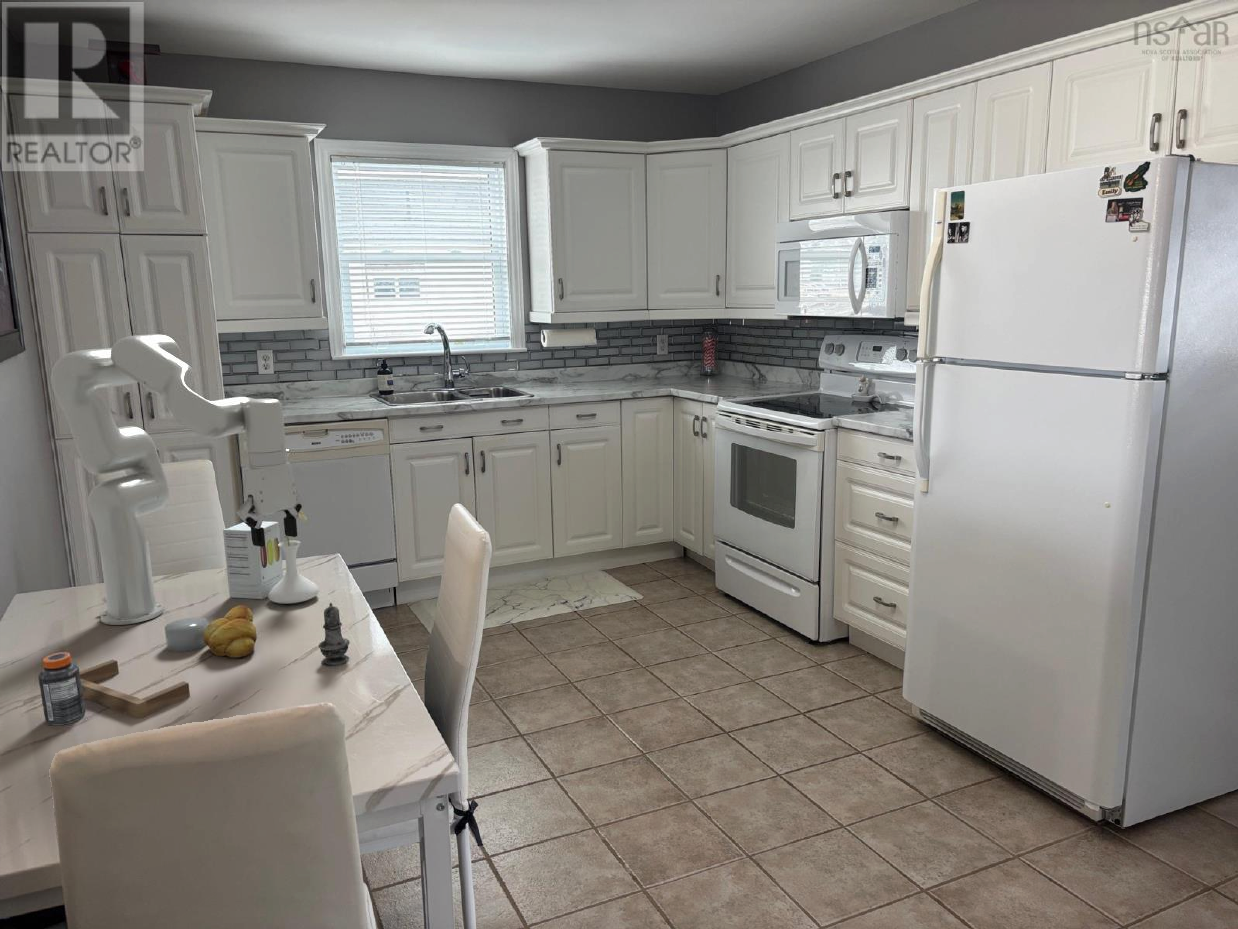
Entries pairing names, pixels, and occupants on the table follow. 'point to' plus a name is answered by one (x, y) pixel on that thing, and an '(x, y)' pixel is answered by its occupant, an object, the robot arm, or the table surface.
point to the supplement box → (252, 561)
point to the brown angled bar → (124, 700)
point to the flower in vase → (292, 577)
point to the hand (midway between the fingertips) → (275, 540)
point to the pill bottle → (61, 690)
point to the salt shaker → (333, 639)
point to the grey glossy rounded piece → (186, 634)
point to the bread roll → (232, 633)
